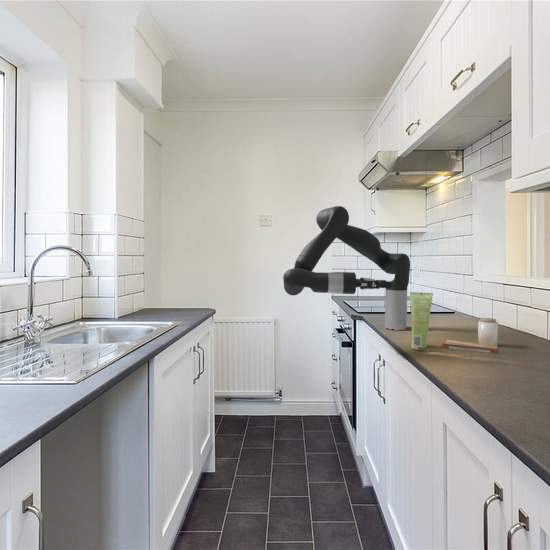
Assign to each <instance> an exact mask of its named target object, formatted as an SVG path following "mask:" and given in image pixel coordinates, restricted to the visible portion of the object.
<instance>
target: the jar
mask: <svg viewBox="0 0 550 550" xmlns="http://www.w3.org/2000/svg"><path fill="white" fill-rule="evenodd" d="M498 335H499V322H498V321H497V318H493V317H492V318H491V317H480V320H478V324H477V342H478V344H479V345H482V346H491V347H494V346H497V347H498V339H499V338H498V337H499V336H498Z"/></svg>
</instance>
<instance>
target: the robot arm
mask: <svg viewBox="0 0 550 550" xmlns="http://www.w3.org/2000/svg"><path fill="white" fill-rule="evenodd" d="M315 220H316V224H317V226H318V227H319V229H320V230H321V231H320V232H319V233H318V234H317V235H316V236H314V238H313V239H312V240H310V241H309V242H308V243H307V244H306V245H305V246H304V247H303V248H302V250H301V252H300V253H299V255H298V256H297V258H296V259H295V263H294V266H293V268H290V269H288V270H286V271H285V272H284V274H283V278H282V280H283V289H284V291H285V293H286V294H287V295H289V296H297V295H299V294H301V293H302V292H303V291H304V289H305V288H309V289H310V290H311V292H313V293H318V294H319V293H323V294H326V293H328V294H333V295H335V294H336V295H355V293H356V292H357V288H359V289H360V290H362V291H363V290H379V289H385V291H384V292H385V299H384V300H385V303H384V305H385V306H384V328H385V329H387V328H388V330H392V329H394V330H395V331H404V330H407V327H408V326H407V325H408V324H407V322H408V320H407V319H408V288H409V287H408V286H409V283H410V273H411V261H410V257H409V255H408V254H406V253H390V252H388V251H386V250H384V249H383V248H382V245H381V243H380V239H378V237H376V236H375V235H374V234H372V232H370V231H368V230H366V229H363V228H361V227H357V226H354V225H349V221H350V215H349V212H348V210H347V209H346V207H344V206H340V205H338V206H337V205H336V206H331V207H327V208H325V209H321V210H320V211H319V212H318V213H317V215H316V219H315ZM336 239H338V240H339V241H341V242H342V243H344V244H346V245H347V246H348V247H350V248H351V249H353V250H355V252H357V253H358V254H360V255H361V256H363V257H365V258H366V259H368V260H369V261H371V262H372V263H374V264H375V265H376V266H378V267H379V269H381V270H382V271H383V272H385V273H386V274H388V275H394V278H393V279H392V280H390V281H388V280H387V279H375V278H371V277H360V278H357V274H356V272H351V271H350V272H348V271H346V272H345V271H332V272H317V271H316V272H315V271H314V269H315V267H316V266H317V264H318V263H319V261H320V259H321V258H322V257H323V255H324V254H325V252H326V251H327V250H328V248H329V247H330V246H331V245H332V243H333V242H334V241H335V240H336ZM394 330H393V331H394Z"/></svg>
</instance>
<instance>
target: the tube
mask: <svg viewBox="0 0 550 550" xmlns="http://www.w3.org/2000/svg"><path fill="white" fill-rule="evenodd" d="M433 296H434V293H433V292H417V291H415V292H414V291H409V298H410V299H409V300H410V313H411V349H413V350H415V351H417V350H418V351H420V349H419V348H427V347H428V338H429V327H430V316H431V307H432V302H433V301H432V300H433Z"/></svg>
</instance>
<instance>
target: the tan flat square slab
mask: <svg viewBox="0 0 550 550" xmlns="http://www.w3.org/2000/svg"><path fill="white" fill-rule="evenodd" d="M442 348H445V349H451V350H462V351H471V352H480V353H488V354H498V353H499V349H498V348H499V347H498V345H497V346H494V347H491V346H482V345H479V344H478V341H477V342H476V341H465V340H455V339H447V340H446V341H445V343H442Z"/></svg>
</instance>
